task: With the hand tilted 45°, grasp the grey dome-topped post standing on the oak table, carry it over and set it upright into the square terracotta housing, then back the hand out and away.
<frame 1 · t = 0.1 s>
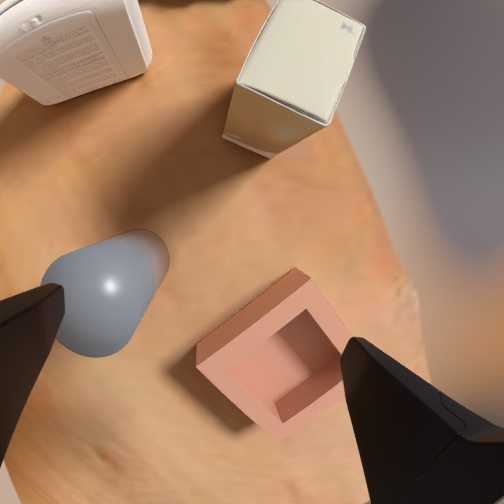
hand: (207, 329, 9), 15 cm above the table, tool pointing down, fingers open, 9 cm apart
photo printer: (95, 72, 21), on the table
housing: (281, 349, 26), on the table
grey dome-topped post: (140, 259, 24), on the table
skincare box: (260, 117, 24), on the table
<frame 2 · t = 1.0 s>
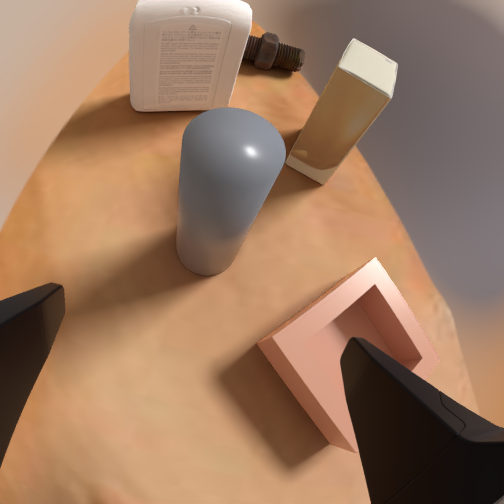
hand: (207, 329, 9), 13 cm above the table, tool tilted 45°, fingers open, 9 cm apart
photo printer: (180, 101, 30), on the table
housing: (343, 357, 24), on the table
bolt: (237, 61, 34), on the table
grey dome-topped post: (206, 246, 24), on the table
skincare box: (312, 156, 30), on the table
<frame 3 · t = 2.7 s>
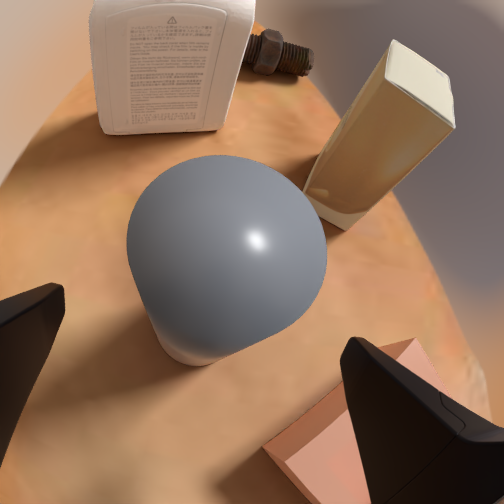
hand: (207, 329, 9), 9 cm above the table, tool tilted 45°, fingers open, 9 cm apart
photo printer: (163, 119, 23), on the table
housing: (365, 449, 17), on the table
bolt: (231, 65, 28), on the table
grey dome-topped post: (195, 326, 18), on the table
skincare box: (331, 192, 24), on the table
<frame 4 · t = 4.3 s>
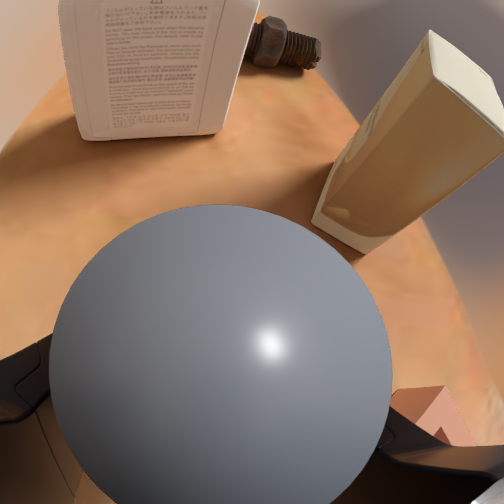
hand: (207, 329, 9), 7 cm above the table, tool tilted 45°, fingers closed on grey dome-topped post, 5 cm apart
photo printer: (152, 121, 20), on the table
housing: (380, 497, 14), on the table
bolt: (228, 58, 25), on the table
grey dome-topped post: (190, 376, 14), on the table, touching gripper
skincare box: (348, 207, 21), on the table
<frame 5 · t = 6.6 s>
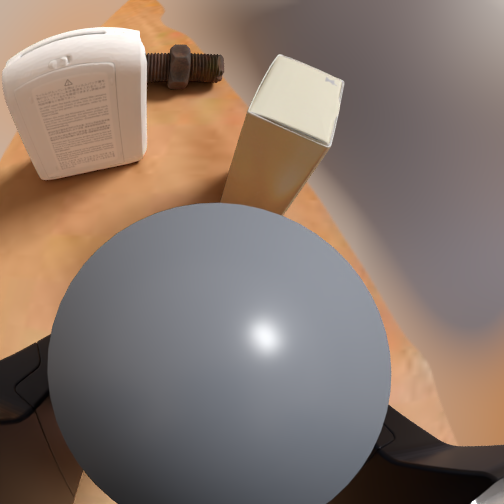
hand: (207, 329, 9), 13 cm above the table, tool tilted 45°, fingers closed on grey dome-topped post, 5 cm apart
photo printer: (92, 157, 25), on the table
bolt: (148, 86, 29), on the table
grey dome-topped post: (189, 375, 14), point 6 cm above the table, touching gripper
skincare box: (249, 205, 26), on the table
when the fingers open (9 cm above the table, at t = 8.9 s): grey dome-topped post drops 1 cm, resting on housing.
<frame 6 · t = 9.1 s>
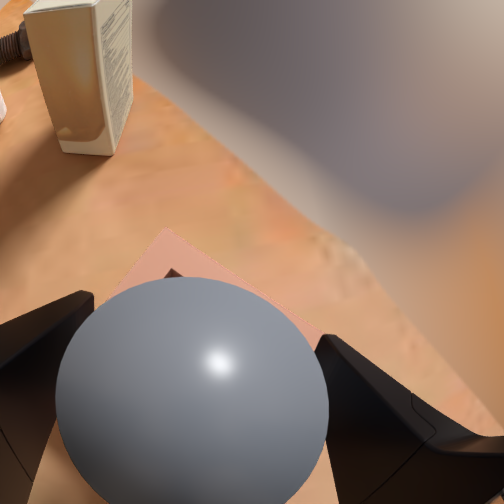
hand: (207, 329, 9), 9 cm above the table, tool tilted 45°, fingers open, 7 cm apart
housing: (188, 375, 16), on the table
bolt: (9, 67, 22), on the table
grey dome-topped post: (189, 376, 16), point 1 cm above the table, touching housing
skincare box: (98, 127, 21), on the table
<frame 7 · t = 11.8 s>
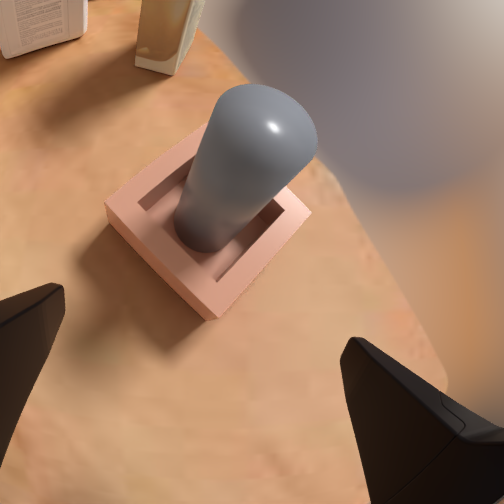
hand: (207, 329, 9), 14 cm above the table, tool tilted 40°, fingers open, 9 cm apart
photo printer: (44, 40, 23), on the table
housing: (202, 225, 24), on the table
grey dome-topped post: (205, 222, 23), point 1 cm above the table, touching housing
skincare box: (163, 55, 27), on the table
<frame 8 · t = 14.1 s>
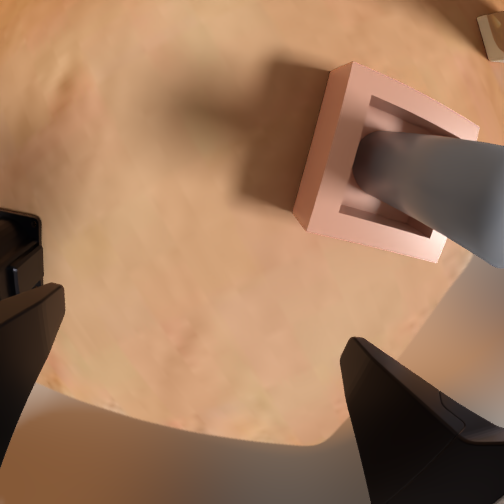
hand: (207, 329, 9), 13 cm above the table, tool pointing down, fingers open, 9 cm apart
housing: (377, 162, 21), on the table
grey dome-topped post: (382, 164, 20), point 1 cm above the table, touching housing
skincare box: (499, 41, 17), on the table
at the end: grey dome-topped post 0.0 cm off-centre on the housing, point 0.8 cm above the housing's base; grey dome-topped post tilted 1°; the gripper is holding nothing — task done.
